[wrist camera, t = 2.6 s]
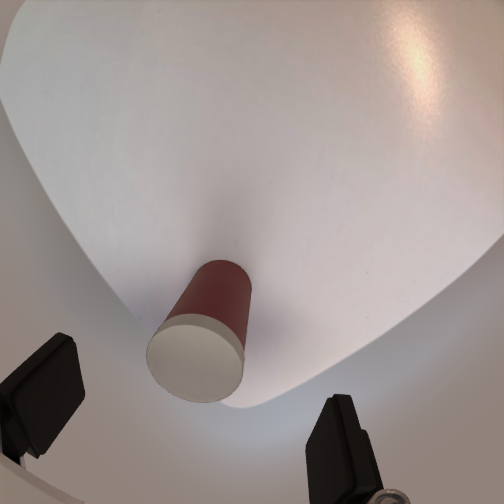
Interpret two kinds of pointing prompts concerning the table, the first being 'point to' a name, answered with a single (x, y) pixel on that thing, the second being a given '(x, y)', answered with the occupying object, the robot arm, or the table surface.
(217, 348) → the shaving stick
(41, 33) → the table surface
